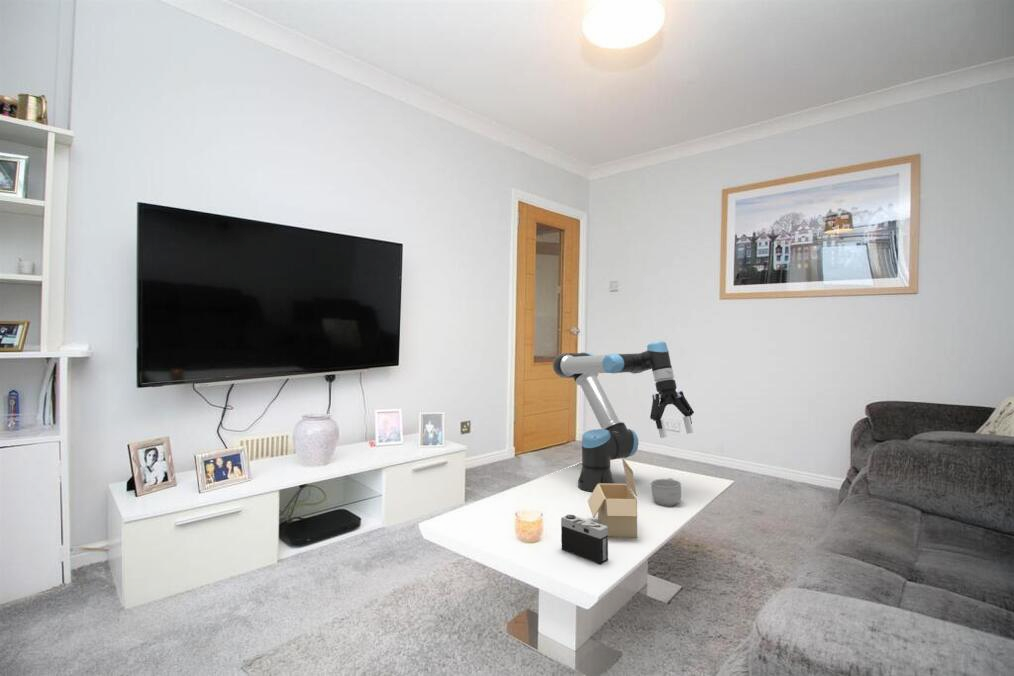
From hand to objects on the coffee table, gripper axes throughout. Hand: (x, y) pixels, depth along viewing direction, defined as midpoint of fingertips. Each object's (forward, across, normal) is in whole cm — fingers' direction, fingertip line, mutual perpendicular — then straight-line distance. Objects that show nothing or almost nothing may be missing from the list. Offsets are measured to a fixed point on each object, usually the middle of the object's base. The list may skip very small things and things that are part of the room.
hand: (677, 435), depth 185 cm
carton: (+26, -39, -1) cm, 47 cm away
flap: (+15, -32, -8) cm, 37 cm away
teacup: (+24, -4, +9) cm, 26 cm away
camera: (+29, -57, -13) cm, 65 cm away
